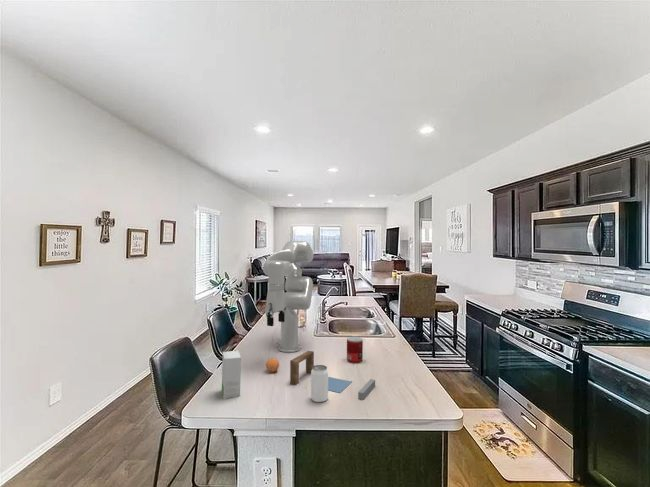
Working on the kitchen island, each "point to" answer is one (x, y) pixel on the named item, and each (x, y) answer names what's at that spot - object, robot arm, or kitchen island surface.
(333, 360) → the kitchen island surface
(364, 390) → the stopper
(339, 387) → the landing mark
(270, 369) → the ball
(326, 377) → the can
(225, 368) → the skincare box
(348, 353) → the canned food
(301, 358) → the bridge
